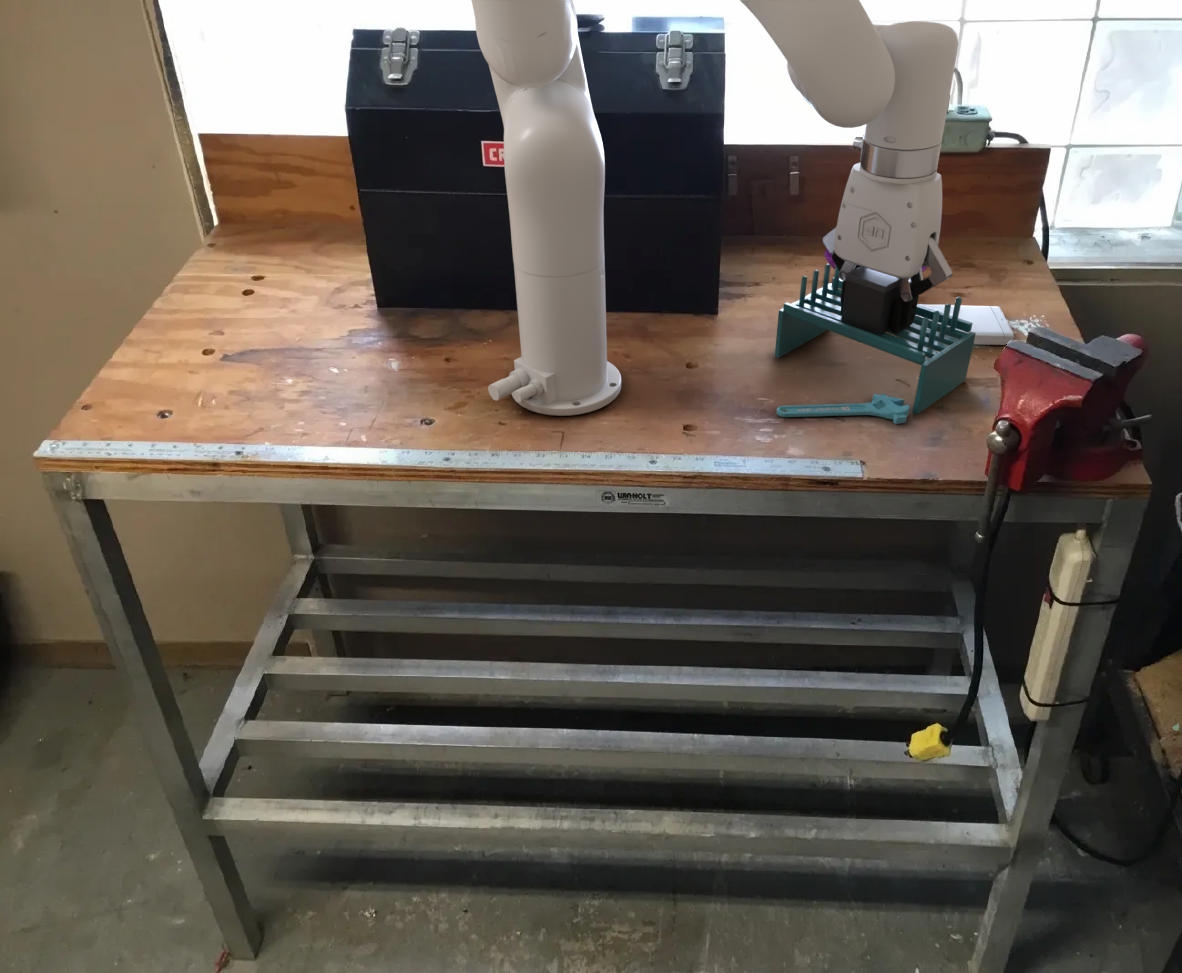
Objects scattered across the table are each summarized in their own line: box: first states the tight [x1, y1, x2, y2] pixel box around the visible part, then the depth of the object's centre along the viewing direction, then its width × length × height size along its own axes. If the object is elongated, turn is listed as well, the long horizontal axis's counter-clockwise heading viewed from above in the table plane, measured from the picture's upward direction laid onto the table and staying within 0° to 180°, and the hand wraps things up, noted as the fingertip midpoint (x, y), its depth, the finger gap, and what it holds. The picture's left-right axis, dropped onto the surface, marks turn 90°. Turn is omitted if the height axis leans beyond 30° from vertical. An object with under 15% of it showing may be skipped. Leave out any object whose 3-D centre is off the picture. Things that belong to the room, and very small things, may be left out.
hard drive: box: [904, 303, 1015, 346], centre depth 120 cm, size 2×8×12 cm
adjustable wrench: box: [776, 393, 911, 425], centre depth 105 cm, size 14×1×5 cm
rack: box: [774, 263, 976, 416], centre depth 111 cm, size 10×19×10 cm, turn 43°
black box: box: [841, 266, 901, 336], centre depth 108 cm, size 7×5×6 cm
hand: (875, 318), depth 110 cm, fingers open, 5 cm apart
